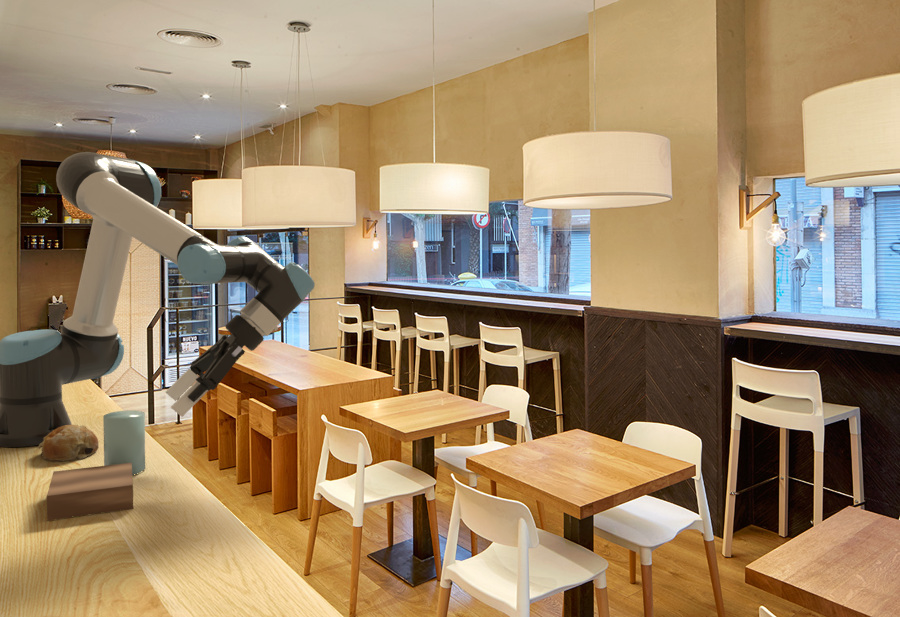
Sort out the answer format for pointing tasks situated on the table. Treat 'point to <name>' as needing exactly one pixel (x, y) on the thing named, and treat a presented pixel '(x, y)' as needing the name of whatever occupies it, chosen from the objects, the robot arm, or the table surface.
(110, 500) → the pedestal
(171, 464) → the table surface
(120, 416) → the dome-topped cylinder
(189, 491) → the table surface
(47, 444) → the bread roll
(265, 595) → the table surface
